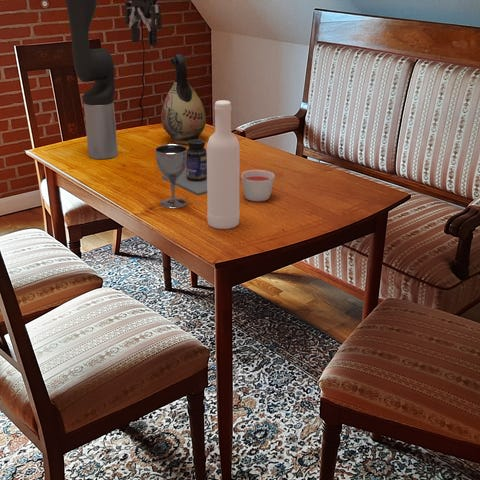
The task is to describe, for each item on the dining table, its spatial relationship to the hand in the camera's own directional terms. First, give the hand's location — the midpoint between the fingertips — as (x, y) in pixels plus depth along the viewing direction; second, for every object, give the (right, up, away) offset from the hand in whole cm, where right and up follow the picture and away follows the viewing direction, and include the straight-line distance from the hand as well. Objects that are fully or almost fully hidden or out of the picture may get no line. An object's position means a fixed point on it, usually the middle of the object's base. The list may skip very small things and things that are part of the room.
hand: (144, 43), depth 170 cm
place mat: (+14, -37, +10) cm, 41 cm away
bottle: (+22, -49, -16) cm, 56 cm away
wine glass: (+9, -44, -4) cm, 45 cm away
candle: (+31, -42, 0) cm, 52 cm away
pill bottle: (+14, -36, +12) cm, 40 cm away
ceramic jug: (+7, -19, +48) cm, 52 cm away
